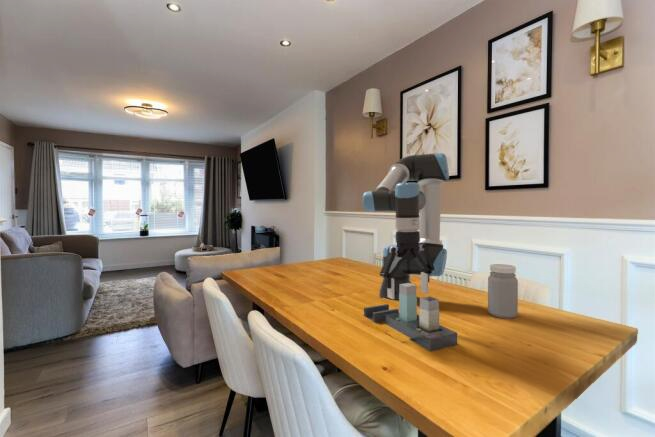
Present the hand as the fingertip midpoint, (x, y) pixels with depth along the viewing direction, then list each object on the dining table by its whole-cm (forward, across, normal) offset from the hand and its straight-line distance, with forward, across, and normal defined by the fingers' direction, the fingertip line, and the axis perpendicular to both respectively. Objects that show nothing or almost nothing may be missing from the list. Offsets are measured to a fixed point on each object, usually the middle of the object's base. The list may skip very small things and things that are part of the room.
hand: (408, 295), depth 105 cm
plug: (+10, -1, 0) cm, 10 cm away
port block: (+11, -1, -6) cm, 12 cm away
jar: (+12, +39, -4) cm, 41 cm away
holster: (+11, -3, +12) cm, 16 cm away
